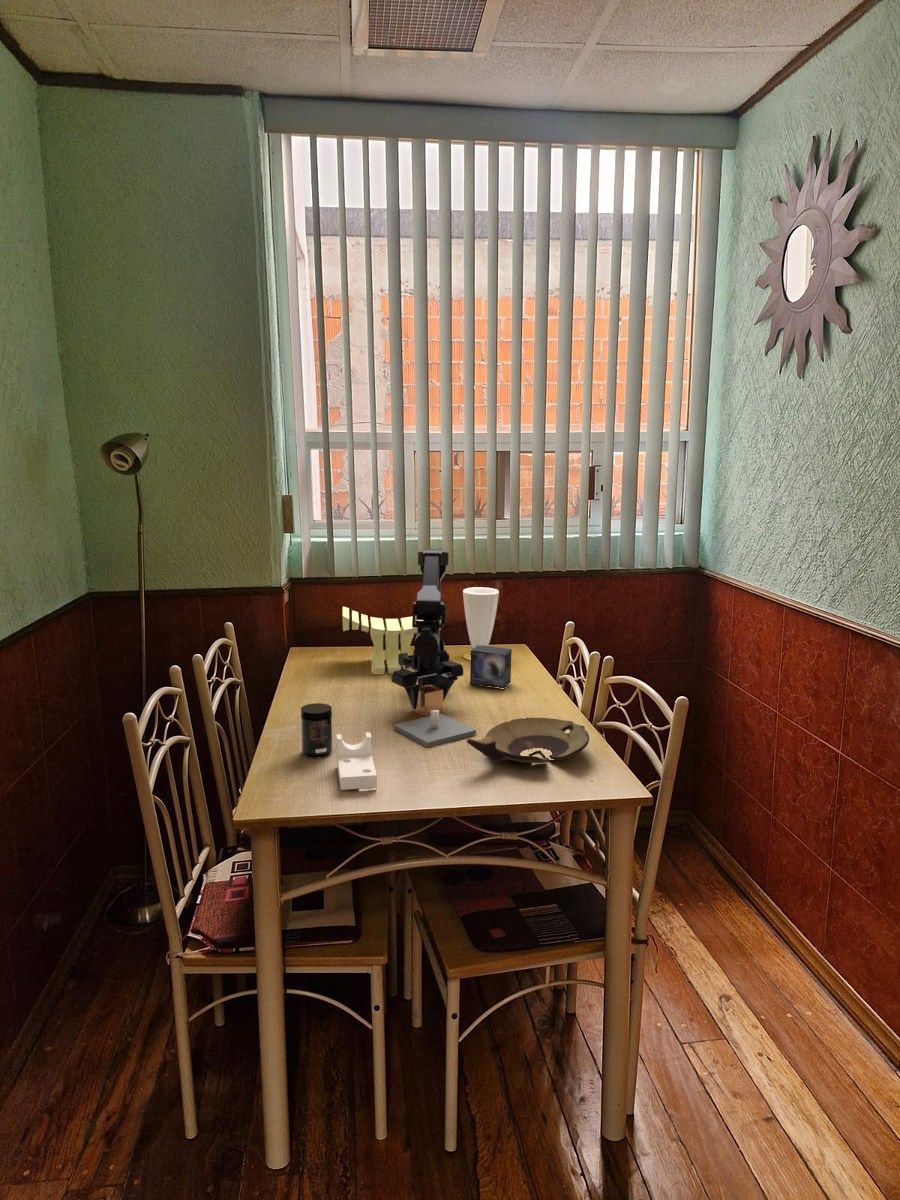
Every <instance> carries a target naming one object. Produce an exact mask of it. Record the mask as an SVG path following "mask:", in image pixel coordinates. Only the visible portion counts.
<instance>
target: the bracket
mask: <svg viewBox="0 0 900 1200" xmlns="http://www.w3.org/2000/svg"><path fill="white" fill-rule="evenodd" d="M335 739H336V767H337V773H338V774H337V775H338V782H339V785H340V786H339V787H340V791H346V790H358V789H359V790H360V789H372V788H377V789H378V774H377V771H376V766H375V762H374V759H373V755H372V735H371V732H365V736H364V738H363V740H361V742H359V743H357V744H349V743H346V741H344V740H343V738H342V733H339V734H338V733H336V738H335ZM359 790H358V791H359Z"/></svg>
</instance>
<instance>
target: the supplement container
mask: <svg viewBox="0 0 900 1200" xmlns="http://www.w3.org/2000/svg"><path fill="white" fill-rule="evenodd" d="M300 720H301V721H300V722H301V723H300V726H301V727H300V730H301V752H302V755H303V756H305V757H306V756H307V758H309V757H313V758H312V759H319V758H318V757H322V758H325V757H324V756H326V757H328V756H330V755H331V753H332V751H333V707H332V706H331V705H329V704H327V703H322V702H317V703H308V704H304V705H303V706H301V707H300ZM329 754H330V755H329ZM327 755H328V756H327Z"/></svg>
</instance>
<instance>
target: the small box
mask: <svg viewBox="0 0 900 1200" xmlns="http://www.w3.org/2000/svg"><path fill="white" fill-rule="evenodd" d="M470 652H471V661H470V666H469V667H470V670H469V672H470V673H469V674H470V675H469V684H473V685H472V686H476V685H482V686H481V687H483V686H491V687H499V688H505V687H506V686H507V685H509V683H511V682H512V681H511V679H512V652H513V649H512V648H507V647H497V646H490V645H488V646H483V645H477V646H476V647H475V648H473V649H472V648H471V650H470ZM509 686H510V685H509Z"/></svg>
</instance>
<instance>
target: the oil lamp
mask: <svg viewBox="0 0 900 1200" xmlns="http://www.w3.org/2000/svg"><path fill="white" fill-rule="evenodd" d="M568 730H569V732H566V731H568ZM589 742H590V735H589V732H588V731H587V730H586V728H585V726H584V725H580V724H578V723H577V724H576V723H574V721H572V720H565V719H564V720H563V719H559V718H550V717H526V718H524V717H523V718H515V719H514V718H513V719H511V720H509V721H504V722H501V723H499V724H497V725H496V726H494V727H492V728H491V729H490V730H489V731H488V732H487V733H486V735H485V737H483V738H481V739H473V738H470V737H469V738H468V739H467V740H466V743H467V744H468V745H470V746H471V747H473V748H474V749H475V750H477V751H478V752H480V753H482V755H484V756H485V757H487V758H488V759H489V760H491V761H493V762H501V761H505V760H507V761H514V762H518V763H524V764H525V763H526V764H544V763H545V764H546V763H549V761H550V760H549V759H548V758H545V757H539V756H533V755H530V756H521V755H520V753H521V752H522V751H524V750H527V749H528V750H529V749H533V748H543V749H547V750H550V751H551V752H552V755H550V756H549V757H550V758H551V759H554V760H553V761H557V760H558V761H559V760H565V759H569V758H571V757H574V756H576V755H577V754H580V753H581V752H582V751H583V750H584V749H585V748H586V747H587V746H588V745H589Z"/></svg>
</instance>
